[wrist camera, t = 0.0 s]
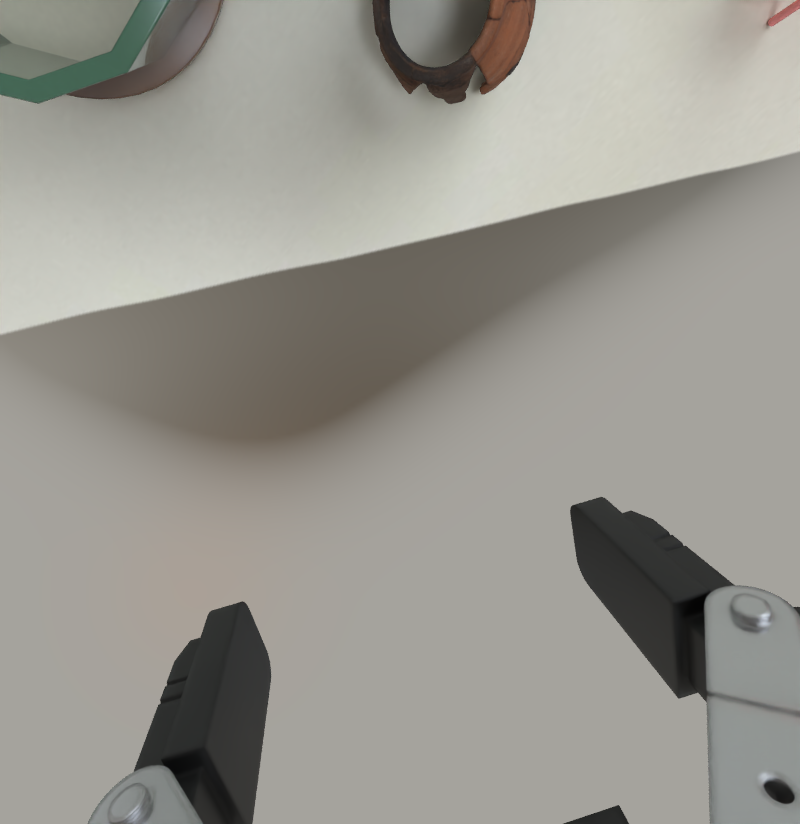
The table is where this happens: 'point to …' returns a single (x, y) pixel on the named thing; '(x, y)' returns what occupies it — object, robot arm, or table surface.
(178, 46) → the disc
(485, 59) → the brown ring-shaped piece
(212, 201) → the table surface
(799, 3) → the figurine
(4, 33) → the pot
